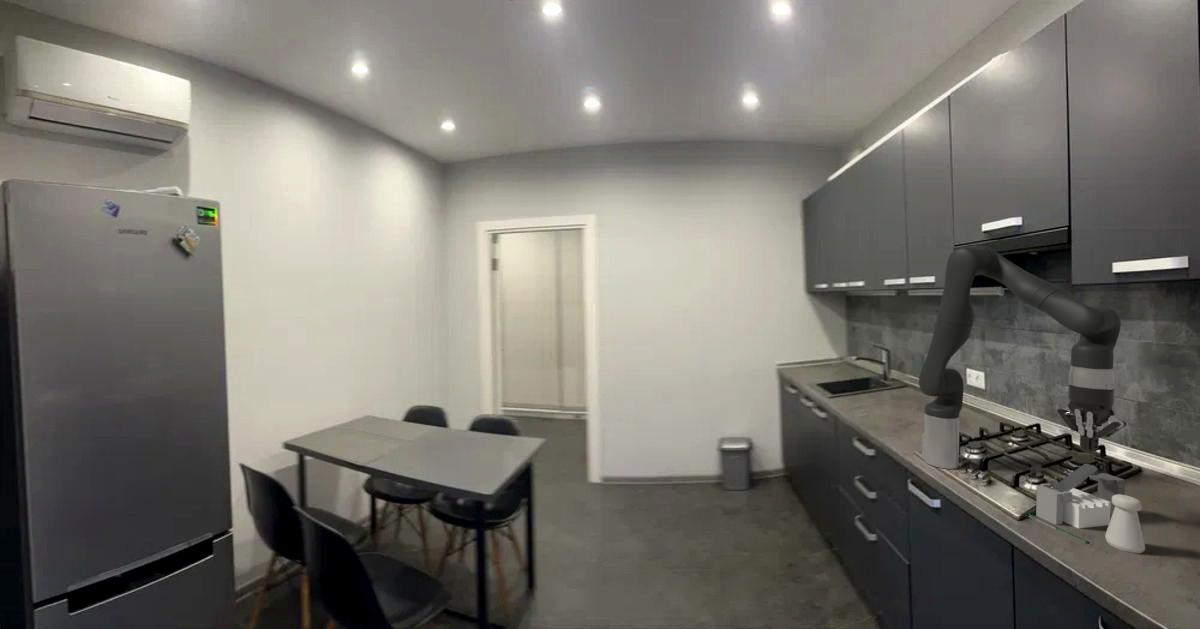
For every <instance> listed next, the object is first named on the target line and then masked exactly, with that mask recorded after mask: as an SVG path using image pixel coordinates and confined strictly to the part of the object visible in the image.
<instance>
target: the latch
mask: <svg viewBox="0 0 1200 629" xmlns="http://www.w3.org/2000/svg"><path fill="white" fill-rule="evenodd" d="M1091 480H1092V481H1096V482H1097V497H1099V498H1101V499H1104V500H1106V501H1109V502H1111V507H1110V516H1112V514H1113V511H1114V508H1115V505H1113V503H1112V496H1113V495H1116V494H1121V495H1125V494H1126V492H1125V491H1126V479H1123V478H1120V477H1117V476H1115V475H1111V474H1108V473H1106V472H1105V473H1103V472H1101V473H1098V474H1095V475H1094V474H1092V475H1091Z"/></svg>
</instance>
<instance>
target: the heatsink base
mask: <svg viewBox="0 0 1200 629" xmlns="http://www.w3.org/2000/svg"><path fill="white" fill-rule="evenodd" d="M1048 487H1050V488H1052V487H1053V486H1052V484H1051V483H1041V484H1040V485H1037V486H1036V506H1035V507H1036V509H1035V511H1036V512H1035V513H1036V514H1035V515H1033V514H1030V513H1029V512H1027V513H1028V514H1029V516H1028V517H1029V518H1031V519H1033V520H1035V521H1036V522H1039V523H1040V524H1043V525H1044V526H1047V527H1049V528H1052V529H1053V530H1056V531H1058V532H1060V533H1063V534H1065V535H1067V536H1068V537H1071V538H1073V539H1076V540H1077V541H1080V542H1082V543H1084V544H1085V545H1086V544H1091V542H1090V541H1088V540H1086V539H1084V538H1082V537H1080V536H1078V535H1075V534H1074V533H1071V532H1069V531H1067V530H1065V529H1062V528H1060V527H1059V526H1058V525H1063V523H1065V524H1068V525H1070V526H1072V527H1074V528H1076V529H1086V528H1094V527H1105V526H1109V523H1110V520H1111V514H1110V507H1111V502H1109V501H1106V500H1104V499H1101V498H1099V497H1098V496H1095V495H1093V494H1091V493H1089V492H1086V491H1085V492H1084V491H1082V490H1080V489H1077V488H1075V487H1074V488H1073V489H1071V490H1070V491H1068V492H1061V493H1060V492H1057V491H1055V490H1052V489H1050V488H1048ZM1013 507H1015V508H1017V506H1014V505H1013V506H1012V508H1013ZM1047 521H1048V522H1047ZM1056 525H1057V526H1056Z"/></svg>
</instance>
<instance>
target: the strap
mask: <svg viewBox="0 0 1200 629" xmlns="http://www.w3.org/2000/svg"><path fill="white" fill-rule="evenodd" d="M1097 471H1098V468H1097V466H1095V465H1093V464H1090V463H1084V464H1083V465H1081V466H1080V467H1078V468H1077V469H1075V470H1074V471H1073V472H1071V473H1070V474H1068V475H1067V476H1066V477H1064V479H1062V480H1060V481H1059V482H1057V483H1056V484H1055V485H1054V486H1051V487H1052V488H1050V487H1048V488H1050V489H1052V490H1055V491H1057V492H1060V493H1061V492H1068V491H1070V490H1071V489H1073V488H1075V487H1077V486H1078V485H1079V484H1081V483H1082V482H1083V481H1085V480H1086V479H1088V478H1089V477H1091V476H1093V475H1094V474H1095V473H1096V472H1097Z"/></svg>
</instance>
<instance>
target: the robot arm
mask: <svg viewBox="0 0 1200 629" xmlns="http://www.w3.org/2000/svg"><path fill="white" fill-rule="evenodd" d="M980 275H981V276H984V277H987V278H990V279H993V280H995V281H997V282H999V283H1000V284H1003V285H1004V286H1005V287H1006V288H1008V290H1009V291H1011V293H1012V294H1014V296H1016V297H1017V298H1018V299H1019V300H1021V301H1022V302H1024V303H1025V304H1028V305H1029V306H1031V307H1033V308H1035V309H1037V310H1039V311H1041V312H1043V313H1045V314H1047V315H1049V316H1050V318H1052V319H1053V320H1055V321H1056V322H1057V323H1059V325H1061V326H1063V327H1064V328H1066V329H1067V330H1070V331H1072V332H1074V333H1076V334H1079V338H1078V342H1076V343H1075V344H1073V345H1072V347H1071V351H1070V369H1069V374H1068V400H1069V403H1068V404H1067V407H1064V408H1058V409H1057V413H1058V415H1059V416H1060V417H1061V418H1062V420H1063V421H1064V422H1065V424H1066V425H1067V427H1068V428H1069V429H1070V431H1073V432H1076V433H1078V435H1079V446H1080V448H1081V450H1083V451H1086V452H1089V453H1093V452H1094V453H1095V452H1096V451H1099V448H1100V447H1099V446H1100V445H1099V444H1100V443H1099V442H1100V439H1102V438H1110V437H1111V436H1113V435H1114V434H1116V433H1118V432H1119V431H1120V430H1121V429H1123V428H1125V427H1126V426H1127V423H1126V422H1125V421H1124V420H1121V421H1120V419H1118V418H1117V417H1116V416H1115V412H1114V410H1113V405H1114V401H1115V398H1114V397H1115V374H1114V349H1115V347H1116V345H1117V341H1118V338H1119V334H1120V331H1121V324H1122V322H1121V317H1120V315H1119V313H1118V312H1117V311H1116V310H1114V309H1113V308H1112V307H1108V306H1104V305H1092V306H1090V305H1086V304H1085V303H1082V301H1079V300H1077V299H1075V295H1074V294H1072V293H1071V292H1069V291H1068V290H1065V289H1064V288H1061V287H1059V286H1057V285H1055V284H1053V283H1051V282H1048V281H1046V280H1045V279H1042V278H1040V277H1038V276H1036V275H1034V274H1032V273H1030V272H1028V270H1027V271H1026V270H1025V269H1023V268H1021V267H1020V266H1018V265H1016V264H1015V263H1013V262H1012V261H1010V260H1008V259H1007V258H1006V257H1004V256H1003V255H1001V254H1000V252H997V251H995V250H994V249H992V248H990V247H988V246H986V245H971V246H962V247H958V248H956V249H955V250H953V251H952V252H951V253H950V255H949V256H948V259H947V262H946V267H945V277H944V285H943V291H942V295H941V296H942V297H941V300H940V306H939V309H938V312H937V316H936V319H935V323H934V328H933V333H932V338H931V342H930V344H929V349H928V352H927V354H926V357H925V360H924V361H923V362H924V363H923V365H922V368H921V370H920V372H919V377H918V387H919V389H920V391H921V392H922V393H923V394H924V395H926V396H929V397H936V398H935V399H934V400H932V401H931V402H929V403H927V404H925V405H924V432H922V434H921V459H922V460H924V462H925V463H927V464H928V465H930V466H933V467H935V468H940V469H948V470H950V469H951V470H952V469H958V468H959V467H960V466H959V465H960V464H959V463H960V458H959V457H960V456H959V455H960V412H962V409H963V400H964V387H965V386H964V380H963V377H962V375H961V373H960V371H958V370H957V369H954V368H949V367H947V366H948V364H949V362H950V360H951V359H952V357H953V356H954V355H955V354H956V353H957V352H958V351H959V350H960V349H961V348H962V347H963V346H964V344H966V342H967V341H968V340H969V338H970V336H971V333H972V331H973V330H972V329H973V325H974V323H975V322H974V321H975V312H974V308H973V305H972V302H971V289H972V286H973V282H974V279H975V277H976V276H980ZM1105 424H1106V426H1105Z"/></svg>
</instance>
